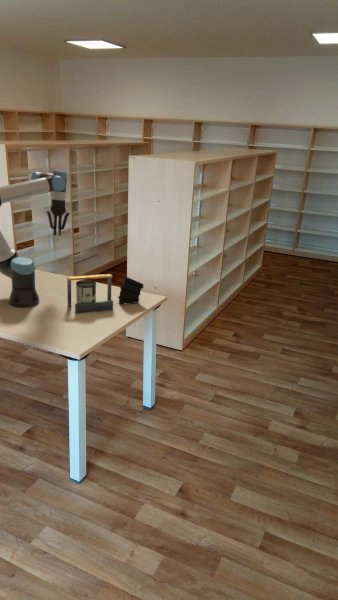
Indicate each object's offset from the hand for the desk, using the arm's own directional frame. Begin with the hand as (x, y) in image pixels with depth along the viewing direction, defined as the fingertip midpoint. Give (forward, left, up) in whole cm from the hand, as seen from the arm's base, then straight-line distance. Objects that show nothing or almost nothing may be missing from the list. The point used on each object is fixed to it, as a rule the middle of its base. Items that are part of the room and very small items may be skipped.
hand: (56, 241), depth 249 cm
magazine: (+33, -35, -28) cm, 56 cm away
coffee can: (+7, -36, -28) cm, 46 cm away
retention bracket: (+10, -37, -28) cm, 47 cm away
